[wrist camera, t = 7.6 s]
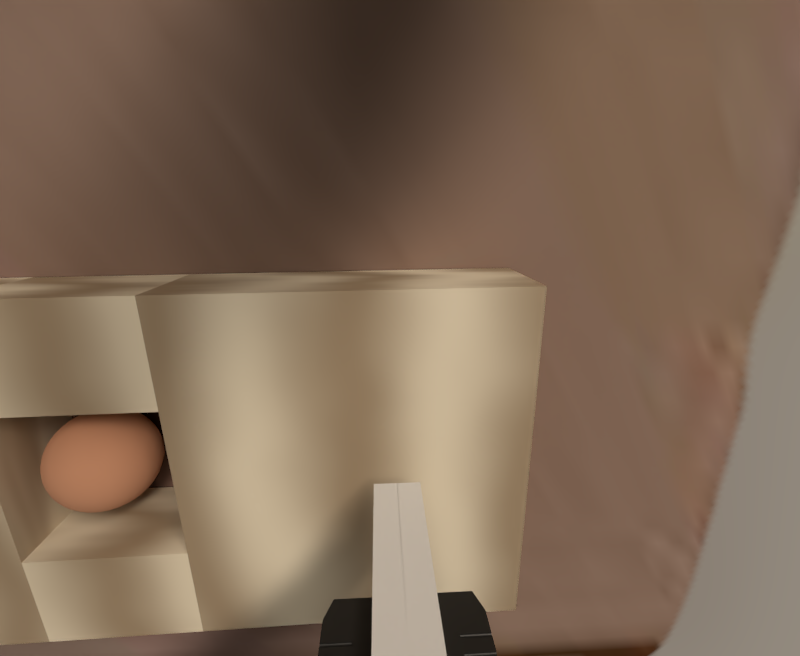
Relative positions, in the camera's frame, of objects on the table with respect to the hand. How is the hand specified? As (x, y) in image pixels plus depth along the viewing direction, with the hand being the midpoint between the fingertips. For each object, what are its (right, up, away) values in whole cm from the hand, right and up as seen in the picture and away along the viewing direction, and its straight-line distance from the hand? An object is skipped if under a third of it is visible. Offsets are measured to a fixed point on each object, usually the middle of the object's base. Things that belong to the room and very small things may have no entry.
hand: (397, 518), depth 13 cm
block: (-6, +2, +5) cm, 8 cm away
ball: (-12, +1, +3) cm, 12 cm away
